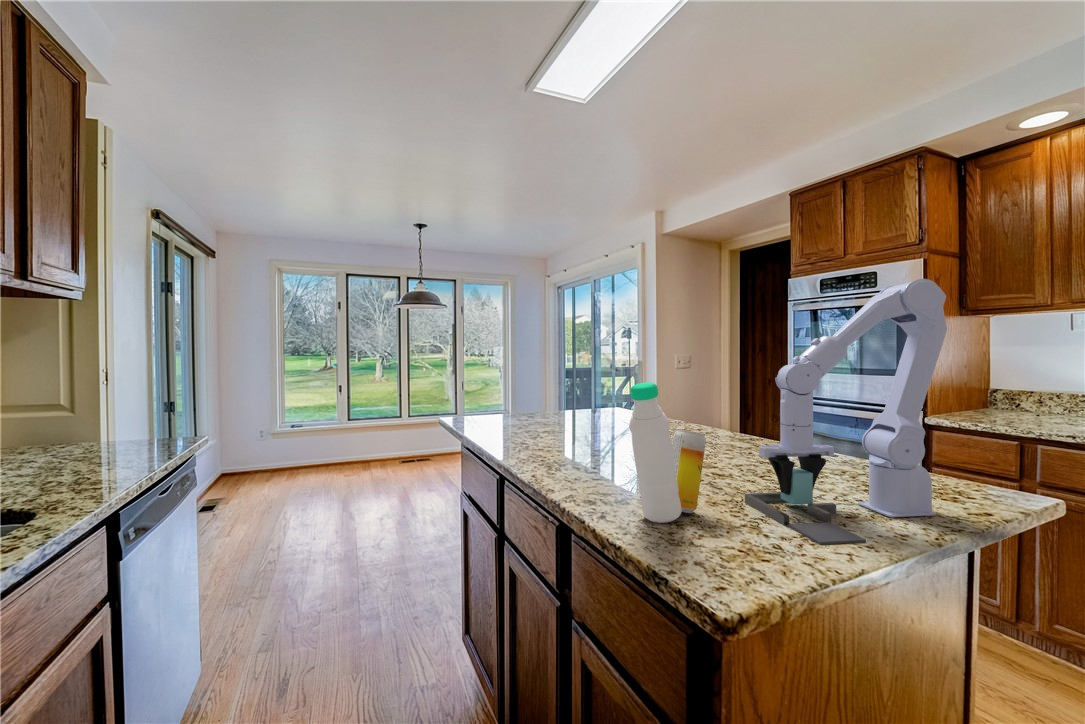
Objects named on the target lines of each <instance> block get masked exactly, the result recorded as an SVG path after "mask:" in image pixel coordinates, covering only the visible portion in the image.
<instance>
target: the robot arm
mask: <svg viewBox="0 0 1085 724" xmlns="http://www.w3.org/2000/svg"><path fill="white" fill-rule="evenodd" d="M946 299H947V295H946V294H945V292H944V291H943V290H942V289H941V287H940V286H939V285H938V284H937V283H936V282H934V281H933V280H931V279H928V278H918V279H915V280H911V281H909V282H904V283H902V284H897V285H889V286H886V287H884V288H883V289H881V290H880V291H879V293H877V294H875V295H873V296H871V297H870V299H869V300H868V301H867V302H866V303H865V304H864V305H863V306H862V307H861V308H860V309H859V310H858V311H857V312H856V313H855V314H854V315H853V316H852V317H850V318H849V320H847V321H846V322H845V323H844V324H843V325H842V326H841V327H840V328H839V329H838V330H837V331H836V332H835V333H833V335H832V336H831V335H823V336H821V337H819V338H818V337H817V338H814V339H812V340H811V341H810V344H811V346H809V347H808V348H807V349H805V351H803V353H801V354H800V355H799V356H798V355H796V356H794V357H793V358H792V359H791V360H792V361H793V363H792V364H786V365H783V366H782V367H781V368H780V369H779V370H778V373H777V376H776V377H775V378H774V380H775V384H776V386H777V387H778V389H779V390H780V403H779V404H780V407H779V408H780V409H779V411H780V413H779V417H780V418H779V419H780V421H779V422H780V423H779V424H780V425H779V426H780V428H779V429H780V430H779V431H780V434H779V435H780V436H779V437H780V438H779V441H780V442H779V443H780V444H773V445H772V444H771V445H766V446H763V445H762V446H759V447H758V452H759V454H758V456H759V457H761V458H763V459H767V460H768V462H769V463H770V465H771V466H772V468H773V470H774V472H775V476H776V478H777V481H778V485H779V488H780V492H782V493H784V494H786V495H790V493H791V477H792V471H793V468H795V464H796V463H795V461H793V460H790V458H791V457H797V459H798V462H799V468H800V469H803V470H806V471H808V472H811V473H813V490H814V488H815V484H816V482H817V479H818V477H819V475H820V473H821V471H822V470H823V468H824V467H825V465H826V464H827V459H826V458H823V457H825V456H826V457H834V456H835V446H833V445H829V444H814V391H815V390H817V389H818V387H819V385H820V380H821V379H822V378H823V377H824V376H825V375H827V374H828V373H829V372H830V371H831V370H833V369H834V368H835V367H836V366H837V365H839V364H840V362H842V361H843V360H844V359H846V357H847V354H848V347H849V346H850V345H852V344H854V342H855V341H857V340H858V339H859V338H861V337H863V335H865V333H867V332H868V331H870V330H871V329H872V328H873V327H875V326H876V325H877V324H879V323H880V322H881V321H884V320H887V319H889V320H890V321H892V322H893V323H894V324H897V325H898V326H899V327H900V328H901V329H902V330H903V331H904V333H906V335H907V337H906V339H905V340H906V341H905V343H904V346H903V350H902V352H901V356H900V358H899V362H898V365H897V368H896V372H895V374H894V377H893V381H892V384H891V387H890V390H889V392H888V393H889V394H888V397H887V399H886V403H885V407H884V410H883V411H882V412H881V413H880V414H878V415H877V416H876V417H874V418H873V420H872V423H871V426H870V427H869V428H868V429H866V431H865V432H864V433H863V435H862V438H861V444H862V448H863V450H864V451H865V453H867V454H868V501H866V500H865V501H857V504H858V505H859V506H861V507H863V508H866V509H869V510H871V511H873V512H876V513H879V514H881V515H884V516H887V517H890V518H901V517H904V518H905V517H924V516H925V517H926V516H927V517H929V516H937V512H935V511H933V510H932V509H933V508H932V507H933V505H932V504H933V502H932V501H933V492H932V491H933V484H932V482H933V481H932V478H931V475H930V473H929V472H928V470H927V469H926V468H925V467H923V466H922V465H919V464H920V463H921V462H922V461H923V459H924V457H925V454H926V448H925V444H924V441H925V440H924V439H925V437H926V431H925V428H924V427H923V425H922V424H921V422H920V420H919V419H920V416H921V413H922V409H923V407H924V404H925V400H926V397H927V394H928V391H929V388H930V385H931V382H932V378H933V375H934V372H935V369H936V366H937V363H938V360H939V357H940V353H941V351H942V348H943V344H944V341H945V338H946V335H947V330H948V328H947V322H946V321H947V320H946V316H945V311H944V305H945V303H946V301H947V300H946ZM789 457H790V458H789Z"/></svg>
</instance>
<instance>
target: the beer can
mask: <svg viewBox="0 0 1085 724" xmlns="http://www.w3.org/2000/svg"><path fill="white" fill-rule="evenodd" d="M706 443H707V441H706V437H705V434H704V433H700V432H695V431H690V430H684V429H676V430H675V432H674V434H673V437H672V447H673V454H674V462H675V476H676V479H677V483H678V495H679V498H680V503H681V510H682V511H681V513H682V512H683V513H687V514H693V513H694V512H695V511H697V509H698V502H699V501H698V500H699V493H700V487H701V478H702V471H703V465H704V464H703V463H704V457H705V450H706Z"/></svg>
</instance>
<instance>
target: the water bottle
mask: <svg viewBox="0 0 1085 724" xmlns="http://www.w3.org/2000/svg"><path fill="white" fill-rule="evenodd" d="M630 397H631V399H632V401H633V403H634V407H633V409H632V413H631V417H630V420H629V431H630V433H631V444H632V450H633V457H634V465H635V468H636V474H637V477H638V478H637V479H638V490H639V495H640V501H641V509H642V514H643V516H644V517H645V518H646V519H647V520H648V521H650V522H651V523H652V522H653V523H657V524H658V523H659V524H662V523H663V524H664V523H670V522H673V521H675V520H677V519H678V518H679V517H680V516H681V515H682V512H681V511H682V510H681V503H680V498H679V495H678V483H677V479H676V476H675V462H674V454H673V447H672V443H673V440H672V437H671V433H670V421H669V418H668V416H667V415H666V414H665V412H664V411H663V409H662V407H661V406H660V405H659V403H658V402H657V399H658V398H659V388H658V385H657V384H656V383H654V382H641V383H636V384H634V385H632V386H631V387H630Z"/></svg>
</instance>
